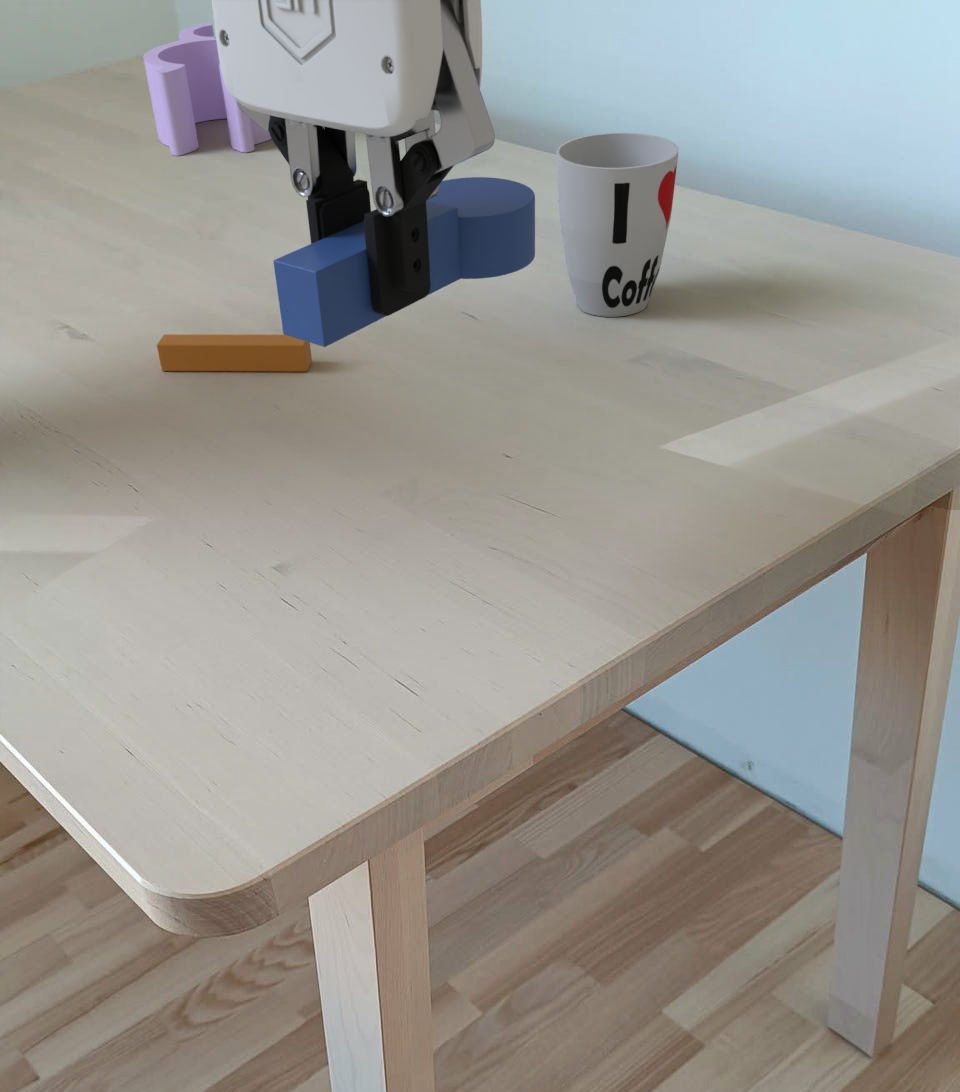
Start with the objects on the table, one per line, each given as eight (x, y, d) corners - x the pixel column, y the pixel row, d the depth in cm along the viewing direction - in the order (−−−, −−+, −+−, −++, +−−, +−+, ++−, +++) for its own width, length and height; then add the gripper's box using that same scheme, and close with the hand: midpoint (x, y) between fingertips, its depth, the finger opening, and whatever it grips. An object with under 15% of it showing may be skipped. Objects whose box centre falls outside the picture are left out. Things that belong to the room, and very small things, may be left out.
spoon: (354, 356, 51) (346, 280, 49) (255, 326, 54) (244, 252, 52) (559, 250, 59) (559, 180, 57) (464, 228, 62) (462, 160, 60)
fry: (161, 371, 86) (156, 344, 84) (168, 360, 87) (163, 333, 86) (307, 372, 85) (303, 345, 84) (312, 360, 86) (308, 334, 85)
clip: (178, 100, 136) (164, 25, 131) (294, 95, 136) (285, 19, 131) (147, 157, 122) (130, 74, 117) (276, 151, 121) (265, 67, 117)
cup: (601, 335, 87) (605, 176, 80) (533, 300, 92) (532, 148, 85) (692, 306, 90) (704, 151, 83) (621, 273, 95) (627, 125, 88)
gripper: (78, -266, 44) (182, 286, 56) (442, -262, 36) (467, 372, 49) (235, -281, 48) (299, 236, 61) (590, -281, 40) (578, 308, 53)
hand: (374, 293), depth 55 cm, fingers closed on spoon, 2 cm apart
